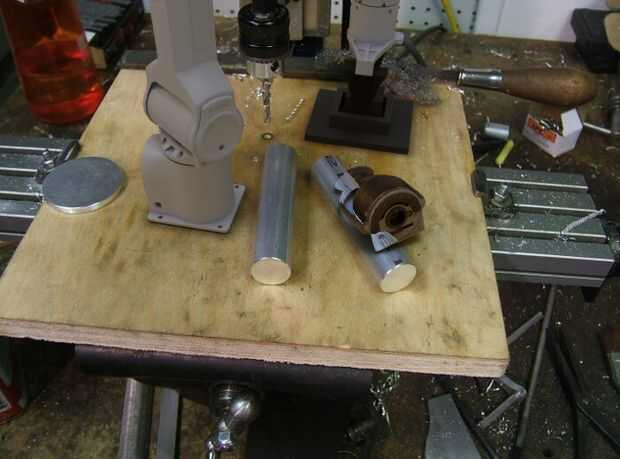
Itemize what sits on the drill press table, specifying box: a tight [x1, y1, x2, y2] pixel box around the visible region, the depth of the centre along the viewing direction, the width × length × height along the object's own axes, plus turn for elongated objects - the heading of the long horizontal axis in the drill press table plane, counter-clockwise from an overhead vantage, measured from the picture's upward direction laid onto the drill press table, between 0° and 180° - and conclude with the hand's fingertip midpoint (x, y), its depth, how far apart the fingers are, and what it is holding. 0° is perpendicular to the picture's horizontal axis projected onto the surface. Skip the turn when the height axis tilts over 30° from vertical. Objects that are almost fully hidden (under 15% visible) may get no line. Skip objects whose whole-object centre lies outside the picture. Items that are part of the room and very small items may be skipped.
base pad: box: [304, 87, 414, 155], centre depth 78 cm, size 14×12×3 cm
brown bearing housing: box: [338, 165, 426, 243], centre depth 63 cm, size 7×13×10 cm
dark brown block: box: [344, 85, 386, 117], centre depth 77 cm, size 5×4×4 cm
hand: (363, 96), depth 76 cm, fingers open, 7 cm apart
